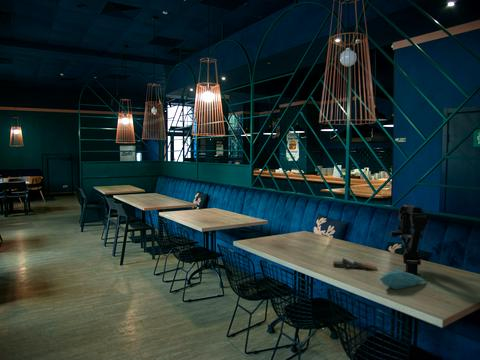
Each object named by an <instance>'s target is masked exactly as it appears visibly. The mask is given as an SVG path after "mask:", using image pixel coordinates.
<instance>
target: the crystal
mask: <svg viewBox="0 0 480 360" xmlns="http://www.w3.org/2000/svg"><path fill="white" fill-rule="evenodd" d="M379 280H380V281H381V283H382V284H383V285H384V286H386V287H389V288H391V289H393V290H400V289H403V288H404V289H405V288H408V287H410V288H411V287H414V286H416V285H418V284H421V283H423V282H425V281H426V279H424V278H423V277H420V276H419V275H413V274H410V273H406V272H404V271H401V270H397V269H392V270H390V271H389V272H387V273H384V274H382V275H381V276H380V278H379Z"/></svg>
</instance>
